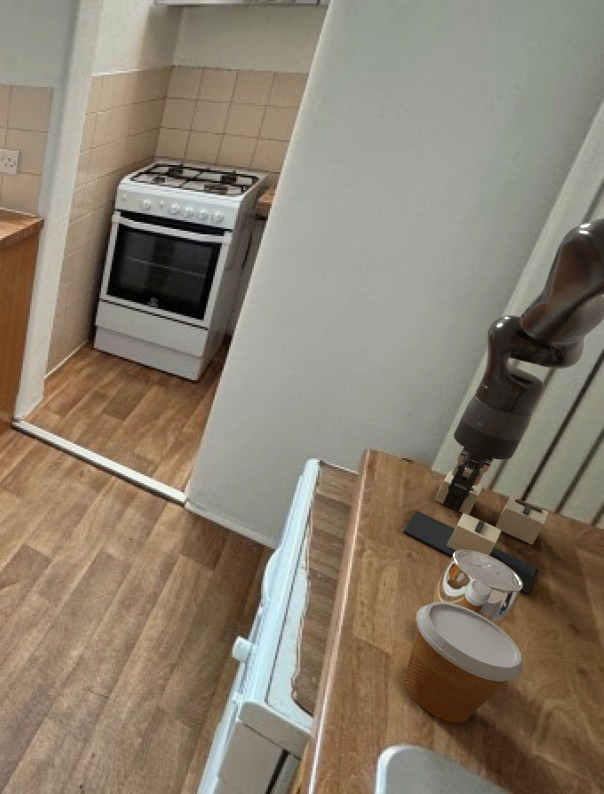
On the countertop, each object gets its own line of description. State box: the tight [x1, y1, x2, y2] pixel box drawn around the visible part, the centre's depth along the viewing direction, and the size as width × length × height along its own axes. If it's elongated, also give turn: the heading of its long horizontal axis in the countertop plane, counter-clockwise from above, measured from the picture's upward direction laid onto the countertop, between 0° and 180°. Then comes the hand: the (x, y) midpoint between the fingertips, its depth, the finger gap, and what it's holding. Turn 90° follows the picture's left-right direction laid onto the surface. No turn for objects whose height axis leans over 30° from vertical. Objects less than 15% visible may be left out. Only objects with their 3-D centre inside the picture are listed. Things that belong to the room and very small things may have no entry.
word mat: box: [403, 510, 538, 595], centre depth 100 cm, size 15×8×1 cm, turn 36°
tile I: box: [447, 513, 502, 556], centre depth 99 cm, size 5×5×5 cm
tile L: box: [434, 470, 484, 516], centre depth 109 cm, size 5×5×5 cm
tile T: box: [494, 496, 549, 545], centre depth 103 cm, size 5×5×5 cm
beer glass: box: [432, 549, 523, 628], centre depth 81 cm, size 7×7×15 cm
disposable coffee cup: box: [403, 601, 524, 724], centre depth 75 cm, size 10×10×12 cm
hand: (455, 499), depth 110 cm, fingers open, 6 cm apart
